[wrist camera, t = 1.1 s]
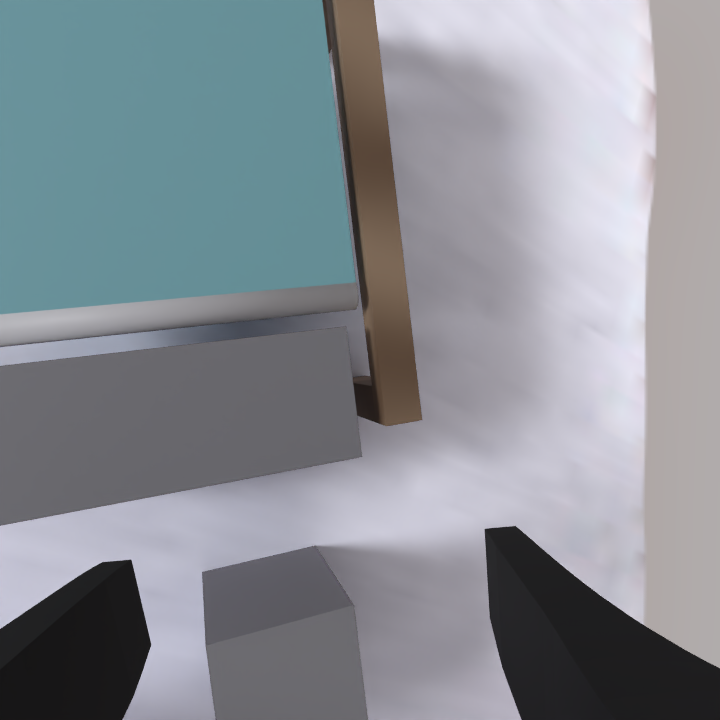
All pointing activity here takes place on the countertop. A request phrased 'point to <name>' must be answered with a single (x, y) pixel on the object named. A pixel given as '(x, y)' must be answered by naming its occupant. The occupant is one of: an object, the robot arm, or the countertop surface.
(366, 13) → the frame
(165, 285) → the trapdoor
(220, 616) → the gray block
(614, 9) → the countertop surface
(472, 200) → the countertop surface
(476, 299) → the countertop surface
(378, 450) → the countertop surface
